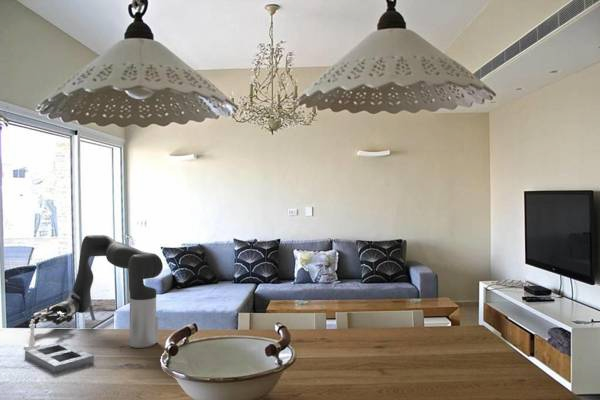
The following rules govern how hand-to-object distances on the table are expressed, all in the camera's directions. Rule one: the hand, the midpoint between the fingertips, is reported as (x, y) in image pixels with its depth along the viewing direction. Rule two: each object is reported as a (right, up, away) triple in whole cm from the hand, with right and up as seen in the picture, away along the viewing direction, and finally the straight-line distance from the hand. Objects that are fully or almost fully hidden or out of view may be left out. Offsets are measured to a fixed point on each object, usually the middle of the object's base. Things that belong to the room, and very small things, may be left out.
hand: (45, 322), depth 168 cm
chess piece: (+1, -6, -10) cm, 12 cm away
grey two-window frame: (+18, -6, -23) cm, 30 cm away
